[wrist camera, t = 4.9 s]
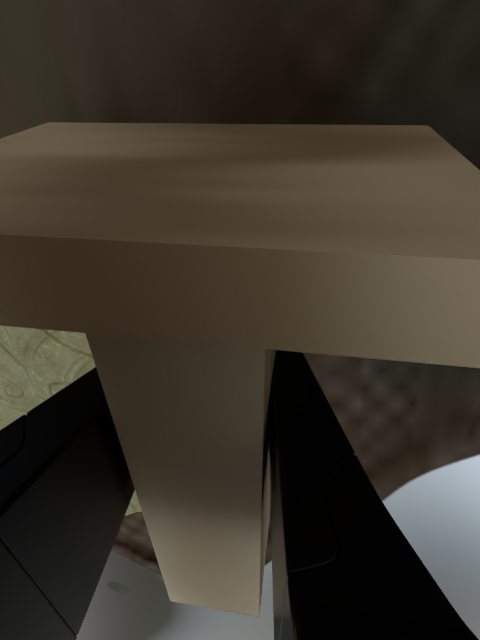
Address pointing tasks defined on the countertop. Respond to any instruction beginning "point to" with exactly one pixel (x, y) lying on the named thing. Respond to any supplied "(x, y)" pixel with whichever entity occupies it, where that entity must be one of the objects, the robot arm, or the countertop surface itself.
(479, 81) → the countertop surface
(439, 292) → the wooden t-shaped block
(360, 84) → the countertop surface
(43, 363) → the decorative tile
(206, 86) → the countertop surface
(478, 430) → the countertop surface
